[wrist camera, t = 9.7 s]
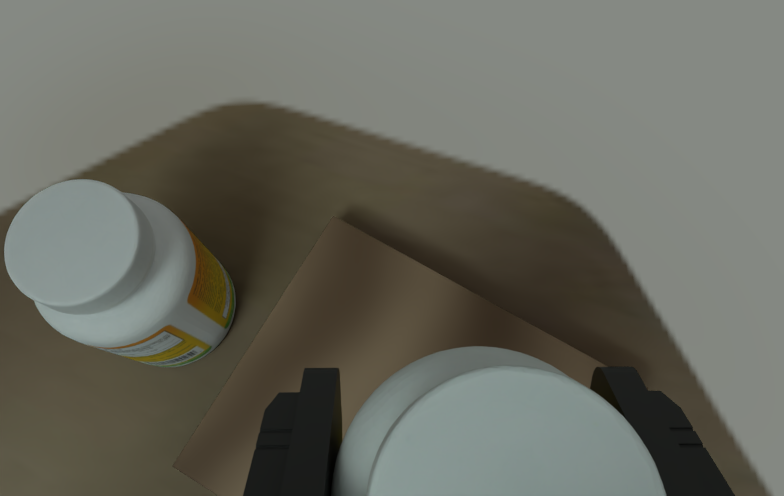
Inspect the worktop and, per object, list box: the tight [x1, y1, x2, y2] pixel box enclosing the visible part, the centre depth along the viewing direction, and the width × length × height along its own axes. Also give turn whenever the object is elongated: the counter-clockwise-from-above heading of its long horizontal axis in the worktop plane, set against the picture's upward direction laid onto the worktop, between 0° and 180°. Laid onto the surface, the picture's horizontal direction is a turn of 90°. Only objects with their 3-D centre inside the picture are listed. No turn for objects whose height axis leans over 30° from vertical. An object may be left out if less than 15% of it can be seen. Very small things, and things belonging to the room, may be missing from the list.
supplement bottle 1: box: [4, 179, 236, 367], centre depth 23 cm, size 5×5×10 cm
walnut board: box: [173, 216, 648, 496], centre depth 25 cm, size 15×12×2 cm
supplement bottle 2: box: [331, 346, 666, 496], centre depth 12 cm, size 5×5×10 cm
